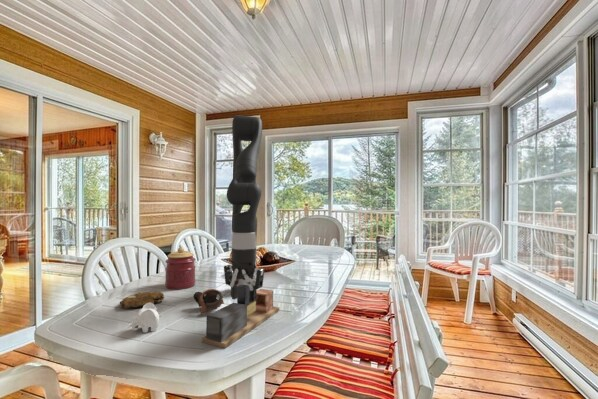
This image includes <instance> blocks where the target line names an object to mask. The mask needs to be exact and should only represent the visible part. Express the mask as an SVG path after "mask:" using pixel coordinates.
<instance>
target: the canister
mask: <svg viewBox="0 0 598 399" xmlns="http://www.w3.org/2000/svg"><path fill="white" fill-rule="evenodd" d="M184 249H185V248H183V247H181V246H180V247H178V248H177V251H176V250H175V251H172V252H170V253H169V254H168V255H167V259H166V260H165V264H166V266H165V268H164V270H165V282H164V285H165V288H166V289H168V290H185V289H189V288H192V287H194V286H195V284H196V264H195V261H196V258H195V257H194V253H193V252H191V251H189V250H184Z"/></svg>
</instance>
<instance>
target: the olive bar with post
mask: <svg viewBox="0 0 598 399" xmlns="http://www.w3.org/2000/svg"><path fill="white" fill-rule="evenodd" d="M249 291H250V288H249V285H243V284H242V285H239V286H237V299H236V301H237V302H236V303H239V304H245V305H247V316H248V315H249V314H251V313H253V312H254V311H256V301H254V302H252V303H251V302H249Z"/></svg>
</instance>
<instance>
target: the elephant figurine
mask: <svg viewBox="0 0 598 399" xmlns="http://www.w3.org/2000/svg"><path fill="white" fill-rule="evenodd" d="M157 310H158V308H157V306H156V305H155V304H153V303H150V302H149V303H147V304H145V305H144V306H142V308H140V309H139V310H138V311H137V313H136V315H135V317H134V318H133V319H132V320H131V321H130V322H129V323H128V324H130V325H129V326H128V327H127V329H129V328H132V330H133V331H137V330H138V329H139V327H140V328H141V329H142V332H143V333H148V332H149V328H150V331H151V332H156V331H157V330H158V328H159V326H160V318H161V317H162V316H163V315H164V313H162V314H159V312H158V311H157Z"/></svg>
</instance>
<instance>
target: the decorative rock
mask: <svg viewBox="0 0 598 399" xmlns="http://www.w3.org/2000/svg"><path fill="white" fill-rule="evenodd" d="M164 300H165V295H164V293H163V292H161V291H152V292H151V291H148V292H143V291H142V292H138V293H132V294H131V295H128V296H126V297H124V298H123V299H122V300H121V301H119V307H120V306H121V307H120V308H122V309H123V308H124V309H133V307H134V309H135V308H140V307H143V306H144V305H145V304H147V303H149V302H150V303H153V304H154V305H155V304H159V303H162V302H163V301H164Z"/></svg>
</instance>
